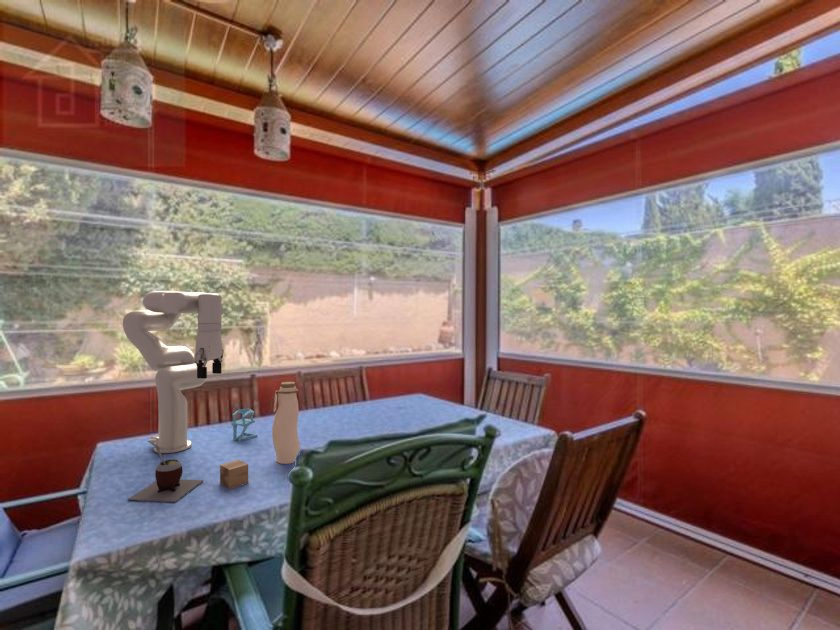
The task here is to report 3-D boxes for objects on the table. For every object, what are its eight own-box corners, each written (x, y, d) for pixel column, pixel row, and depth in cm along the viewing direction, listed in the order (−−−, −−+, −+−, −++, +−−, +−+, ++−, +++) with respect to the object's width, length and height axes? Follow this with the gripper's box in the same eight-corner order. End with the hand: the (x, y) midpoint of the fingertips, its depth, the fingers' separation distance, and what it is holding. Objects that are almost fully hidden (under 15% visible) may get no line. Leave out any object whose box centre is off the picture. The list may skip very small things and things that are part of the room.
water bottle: (272, 467, 146) (273, 386, 145) (268, 458, 154) (269, 381, 153) (302, 462, 151) (303, 384, 150) (297, 454, 159) (298, 380, 158)
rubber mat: (127, 500, 120) (127, 499, 120) (160, 480, 134) (160, 478, 134) (175, 502, 120) (175, 501, 120) (203, 481, 134) (203, 480, 134)
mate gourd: (187, 487, 128) (187, 438, 128) (159, 497, 122) (159, 445, 121) (174, 481, 132) (174, 433, 132) (146, 490, 126) (146, 440, 125)
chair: (228, 440, 173) (228, 411, 173) (242, 434, 181) (242, 406, 181) (243, 442, 171) (243, 413, 170) (257, 436, 179) (257, 408, 178)
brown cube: (219, 483, 133) (219, 464, 133) (238, 477, 138) (238, 459, 137) (229, 489, 129) (229, 469, 129) (248, 482, 134) (248, 464, 133)
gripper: (212, 326, 159) (212, 371, 160) (184, 329, 142) (184, 380, 143) (232, 326, 159) (231, 372, 159) (206, 329, 142) (206, 380, 142)
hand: (209, 375), depth 151 cm, fingers open, 9 cm apart
